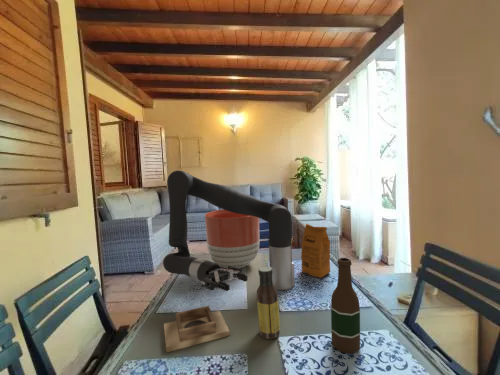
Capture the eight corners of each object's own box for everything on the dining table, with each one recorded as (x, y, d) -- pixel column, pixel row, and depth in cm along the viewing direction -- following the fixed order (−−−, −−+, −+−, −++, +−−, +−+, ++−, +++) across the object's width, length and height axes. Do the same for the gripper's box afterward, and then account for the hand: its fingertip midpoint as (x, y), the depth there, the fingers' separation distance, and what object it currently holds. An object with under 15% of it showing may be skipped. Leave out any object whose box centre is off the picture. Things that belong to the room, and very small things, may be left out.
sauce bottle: (278, 326, 83) (276, 264, 81) (281, 339, 77) (279, 272, 75) (257, 328, 83) (255, 265, 81) (259, 341, 76) (256, 273, 75)
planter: (270, 261, 139) (268, 210, 137) (241, 281, 117) (238, 220, 115) (229, 254, 154) (226, 207, 152) (196, 270, 131) (193, 215, 129)
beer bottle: (326, 337, 77) (324, 255, 75) (352, 334, 78) (351, 253, 76) (337, 356, 69) (336, 265, 67) (366, 353, 70) (365, 263, 68)
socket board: (219, 315, 91) (219, 302, 90) (229, 335, 80) (229, 320, 79) (164, 328, 85) (163, 314, 84) (166, 352, 73) (165, 336, 73)
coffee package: (311, 266, 131) (310, 221, 129) (333, 273, 121) (332, 225, 119) (297, 271, 125) (296, 225, 123) (319, 279, 115) (318, 229, 113)
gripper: (187, 266, 90) (221, 279, 80) (218, 255, 101) (252, 264, 91) (188, 288, 91) (222, 303, 81) (219, 274, 102) (252, 286, 92)
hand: (238, 282), depth 86 cm, fingers open, 8 cm apart
